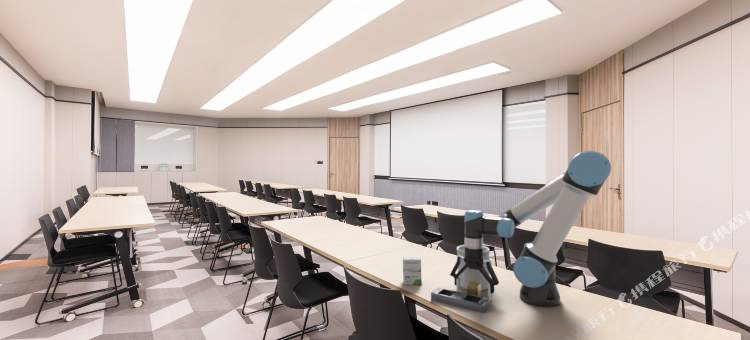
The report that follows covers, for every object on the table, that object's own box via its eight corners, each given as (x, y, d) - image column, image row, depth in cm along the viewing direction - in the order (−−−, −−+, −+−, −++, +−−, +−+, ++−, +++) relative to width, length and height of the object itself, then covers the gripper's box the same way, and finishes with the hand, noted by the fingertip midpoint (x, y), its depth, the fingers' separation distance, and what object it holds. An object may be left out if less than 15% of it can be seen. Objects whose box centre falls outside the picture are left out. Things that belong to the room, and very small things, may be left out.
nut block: (481, 296, 140) (481, 282, 140) (477, 300, 136) (477, 286, 136) (471, 294, 142) (470, 280, 142) (467, 297, 139) (467, 283, 139)
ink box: (421, 281, 159) (421, 256, 159) (421, 285, 154) (421, 259, 154) (403, 280, 160) (402, 256, 160) (403, 284, 155) (402, 259, 155)
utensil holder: (454, 288, 149) (453, 250, 149) (459, 278, 163) (459, 243, 162) (488, 293, 143) (488, 253, 143) (491, 282, 157) (491, 245, 156)
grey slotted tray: (489, 306, 130) (489, 298, 130) (483, 313, 124) (483, 305, 124) (438, 294, 143) (438, 287, 143) (431, 299, 137) (431, 292, 137)
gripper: (506, 249, 135) (506, 300, 135) (449, 241, 149) (449, 287, 150) (501, 253, 129) (501, 307, 129) (442, 244, 143) (442, 292, 144)
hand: (473, 296), depth 139 cm, fingers open, 13 cm apart
